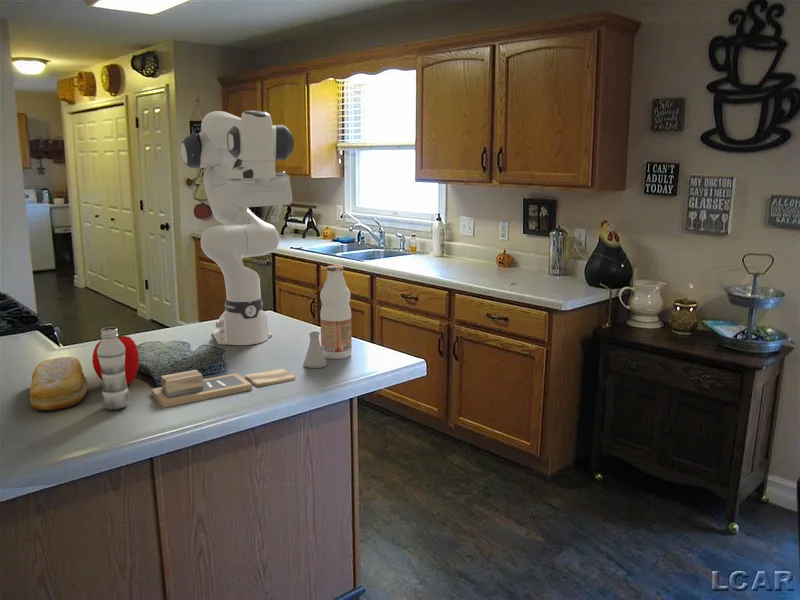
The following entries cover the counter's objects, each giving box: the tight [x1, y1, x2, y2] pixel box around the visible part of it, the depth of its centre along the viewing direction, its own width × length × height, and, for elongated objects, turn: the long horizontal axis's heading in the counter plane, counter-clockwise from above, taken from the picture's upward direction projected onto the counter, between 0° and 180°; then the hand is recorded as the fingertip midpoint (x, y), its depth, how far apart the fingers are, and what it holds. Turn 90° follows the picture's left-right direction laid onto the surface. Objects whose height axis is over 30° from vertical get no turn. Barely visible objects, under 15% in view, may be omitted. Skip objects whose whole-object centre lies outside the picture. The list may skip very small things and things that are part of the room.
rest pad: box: [244, 367, 296, 388], centre depth 183 cm, size 9×11×1 cm
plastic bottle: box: [97, 326, 131, 411], centre depth 160 cm, size 6×7×20 cm
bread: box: [29, 356, 88, 412], centre depth 170 cm, size 13×26×8 cm, turn 29°
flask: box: [302, 330, 328, 369], centre depth 194 cm, size 7×7×10 cm
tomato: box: [92, 334, 140, 386], centre depth 176 cm, size 13×11×14 cm
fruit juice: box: [319, 264, 353, 360], centre depth 202 cm, size 9×9×28 cm
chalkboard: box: [151, 372, 253, 408], centre depth 173 cm, size 11×23×2 cm, turn 124°
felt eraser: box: [161, 369, 204, 397], centre depth 169 cm, size 5×9×4 cm, turn 124°
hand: (261, 222), depth 182 cm, fingers open, 8 cm apart
